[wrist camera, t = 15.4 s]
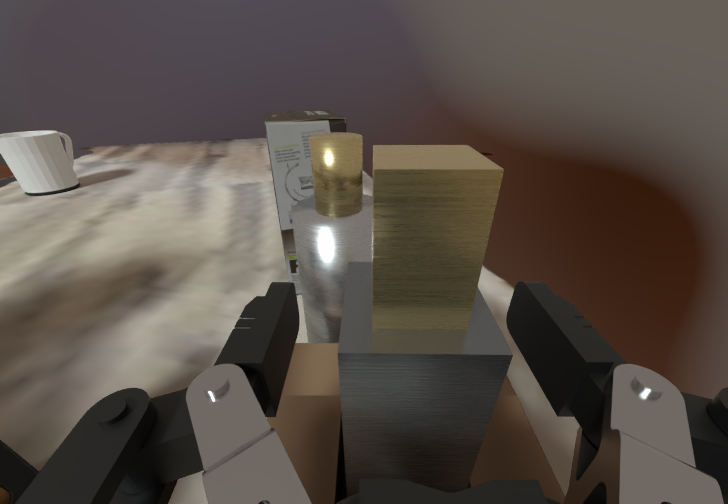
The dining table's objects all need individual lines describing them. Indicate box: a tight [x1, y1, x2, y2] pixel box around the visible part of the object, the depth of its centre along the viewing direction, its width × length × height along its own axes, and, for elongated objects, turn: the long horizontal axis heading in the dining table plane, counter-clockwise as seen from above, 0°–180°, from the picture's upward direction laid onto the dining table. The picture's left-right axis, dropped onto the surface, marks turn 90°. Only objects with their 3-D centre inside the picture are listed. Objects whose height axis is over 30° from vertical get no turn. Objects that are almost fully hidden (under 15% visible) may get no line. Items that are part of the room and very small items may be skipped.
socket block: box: [267, 343, 565, 504], centre depth 14 cm, size 12×12×5 cm
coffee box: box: [264, 110, 347, 294], centre depth 30 cm, size 9×6×16 cm
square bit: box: [338, 145, 513, 497], centre depth 11 cm, size 4×4×16 cm
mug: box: [0, 131, 80, 196], centre depth 58 cm, size 11×9×10 cm
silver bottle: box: [291, 132, 373, 343], centre depth 20 cm, size 6×6×16 cm
